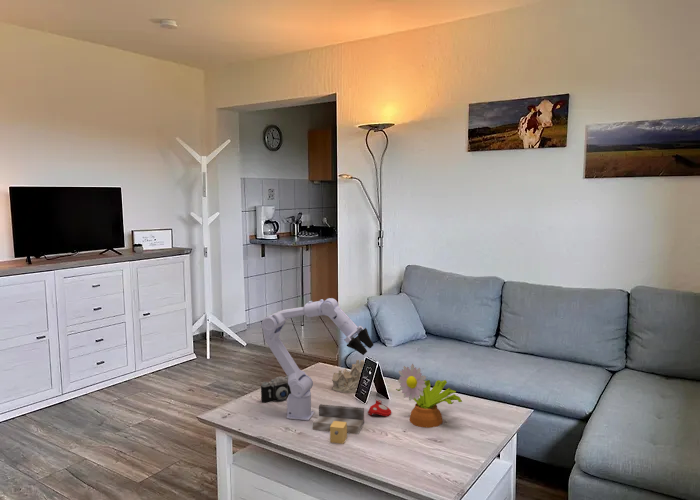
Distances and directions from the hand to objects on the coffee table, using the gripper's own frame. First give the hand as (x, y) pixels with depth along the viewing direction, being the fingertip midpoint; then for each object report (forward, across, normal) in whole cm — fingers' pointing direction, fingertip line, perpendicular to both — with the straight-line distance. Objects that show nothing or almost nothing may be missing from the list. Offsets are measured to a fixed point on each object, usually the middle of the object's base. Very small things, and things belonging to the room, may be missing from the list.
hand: (368, 350), depth 199 cm
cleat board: (+14, -7, +28) cm, 32 cm away
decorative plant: (+37, +10, +6) cm, 39 cm away
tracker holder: (+22, +11, +22) cm, 33 cm away
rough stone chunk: (+8, +33, +38) cm, 51 cm away
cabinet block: (+16, -18, +25) cm, 35 cm away
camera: (-10, +8, +54) cm, 56 cm away
